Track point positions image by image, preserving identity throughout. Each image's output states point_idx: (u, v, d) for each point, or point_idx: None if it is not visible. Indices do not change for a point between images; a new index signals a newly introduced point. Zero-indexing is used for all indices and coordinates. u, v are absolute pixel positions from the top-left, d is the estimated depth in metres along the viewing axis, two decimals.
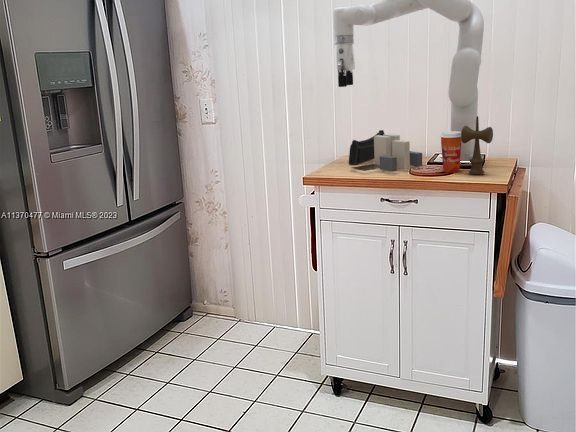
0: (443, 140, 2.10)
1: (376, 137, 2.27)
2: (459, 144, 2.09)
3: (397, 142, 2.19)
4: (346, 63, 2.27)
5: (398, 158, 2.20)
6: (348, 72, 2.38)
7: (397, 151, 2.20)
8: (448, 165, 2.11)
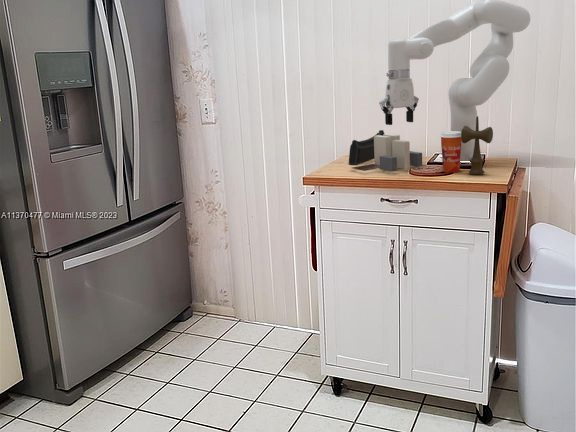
0: (443, 140, 2.10)
1: (376, 137, 2.27)
2: (459, 144, 2.09)
3: (397, 142, 2.19)
4: (391, 100, 2.11)
5: (398, 158, 2.20)
6: (409, 108, 2.19)
7: (397, 151, 2.20)
8: (448, 165, 2.11)
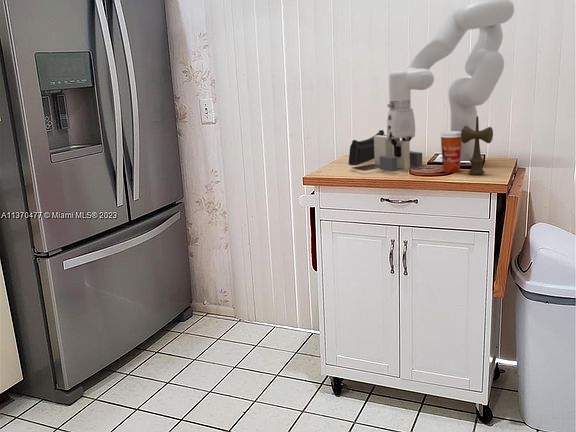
0: (443, 140, 2.10)
1: (376, 137, 2.27)
2: (459, 144, 2.09)
3: None
4: (393, 131, 2.14)
5: (399, 158, 2.20)
6: None
7: None
8: (448, 165, 2.11)
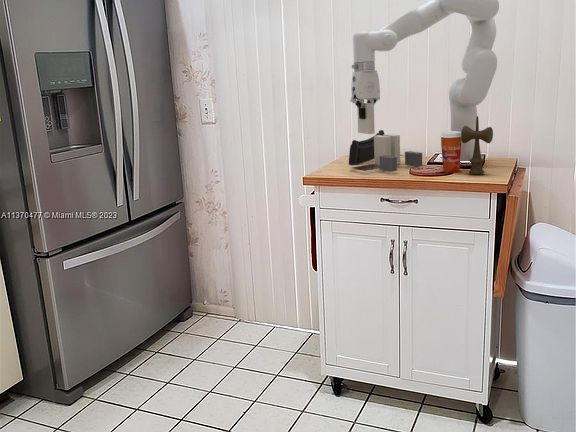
0: (443, 140, 2.10)
1: (376, 137, 2.27)
2: (459, 144, 2.09)
3: None
4: (357, 92, 2.14)
5: (363, 120, 2.20)
6: None
7: None
8: (448, 165, 2.11)
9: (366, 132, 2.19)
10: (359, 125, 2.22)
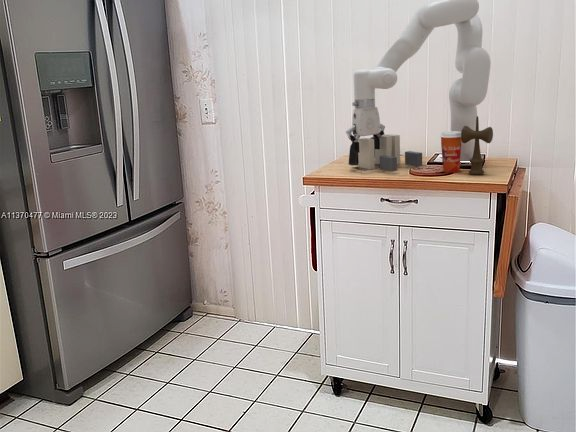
0: (443, 140, 2.10)
1: None
2: (459, 144, 2.09)
3: (362, 139, 2.22)
4: (357, 129, 2.17)
5: (364, 156, 2.23)
6: (376, 135, 2.24)
7: (362, 148, 2.23)
8: (448, 165, 2.11)
9: (366, 167, 2.23)
10: (359, 160, 2.26)
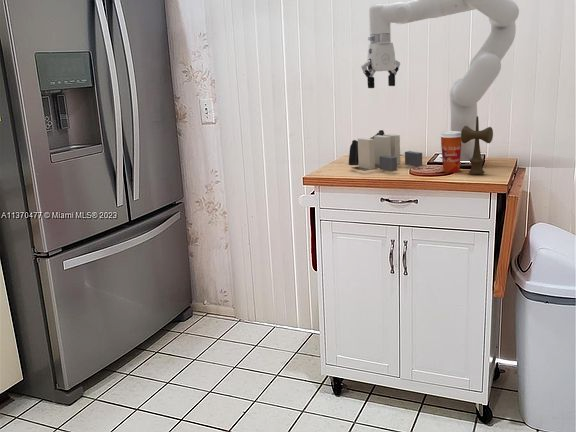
0: (443, 140, 2.10)
1: (376, 137, 2.27)
2: (459, 144, 2.09)
3: (362, 139, 2.22)
4: (373, 64, 2.18)
5: (364, 156, 2.23)
6: (391, 72, 2.25)
7: (362, 148, 2.23)
8: (448, 165, 2.11)
9: (366, 167, 2.23)
10: (359, 160, 2.26)
